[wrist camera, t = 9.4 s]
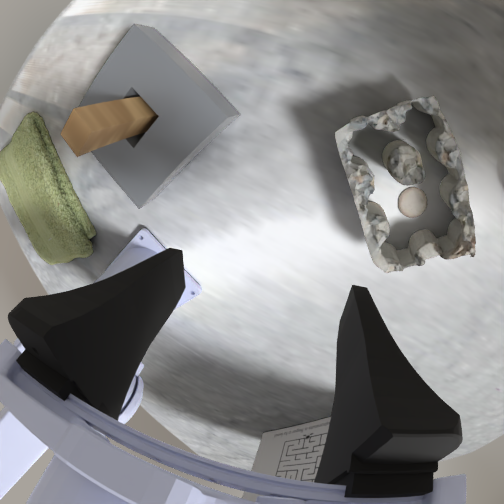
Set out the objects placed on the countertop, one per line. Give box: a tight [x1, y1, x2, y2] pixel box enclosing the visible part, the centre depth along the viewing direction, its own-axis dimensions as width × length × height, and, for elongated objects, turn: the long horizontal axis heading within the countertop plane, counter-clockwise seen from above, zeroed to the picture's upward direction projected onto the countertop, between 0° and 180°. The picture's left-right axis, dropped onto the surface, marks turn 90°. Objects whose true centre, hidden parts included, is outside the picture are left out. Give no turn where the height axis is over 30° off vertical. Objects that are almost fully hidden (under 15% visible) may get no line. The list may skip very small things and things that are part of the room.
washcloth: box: [0, 112, 96, 265], centre depth 26 cm, size 13×18×3 cm
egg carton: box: [335, 95, 476, 273], centre depth 15 cm, size 11×8×4 cm
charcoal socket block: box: [79, 24, 241, 209], centre depth 18 cm, size 10×10×2 cm
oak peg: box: [61, 96, 159, 157], centre depth 16 cm, size 2×2×8 cm
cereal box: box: [242, 417, 331, 502], centre depth 26 cm, size 22×8×25 cm, turn 139°
